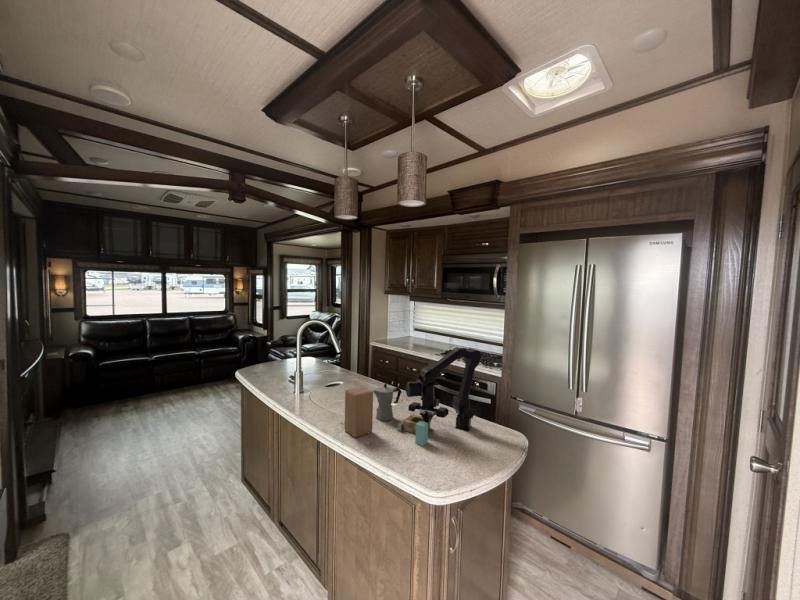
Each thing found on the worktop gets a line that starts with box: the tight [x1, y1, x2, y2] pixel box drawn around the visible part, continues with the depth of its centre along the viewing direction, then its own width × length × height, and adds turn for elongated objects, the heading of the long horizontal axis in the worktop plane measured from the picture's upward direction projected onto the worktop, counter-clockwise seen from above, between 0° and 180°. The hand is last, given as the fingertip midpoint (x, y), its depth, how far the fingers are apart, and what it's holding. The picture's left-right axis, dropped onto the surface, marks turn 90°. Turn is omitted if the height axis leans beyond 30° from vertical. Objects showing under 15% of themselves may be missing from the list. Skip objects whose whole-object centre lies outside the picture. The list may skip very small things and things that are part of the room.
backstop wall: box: [397, 414, 413, 433], centre depth 157 cm, size 2×14×4 cm, turn 149°
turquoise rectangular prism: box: [414, 421, 429, 447], centre depth 140 cm, size 4×4×9 cm
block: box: [344, 385, 374, 438], centre depth 150 cm, size 10×10×20 cm
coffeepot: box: [372, 383, 402, 422], centre depth 167 cm, size 15×9×18 cm, turn 107°
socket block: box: [403, 414, 431, 435], centre depth 154 cm, size 10×10×4 cm
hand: (428, 427), depth 151 cm, fingers closed
